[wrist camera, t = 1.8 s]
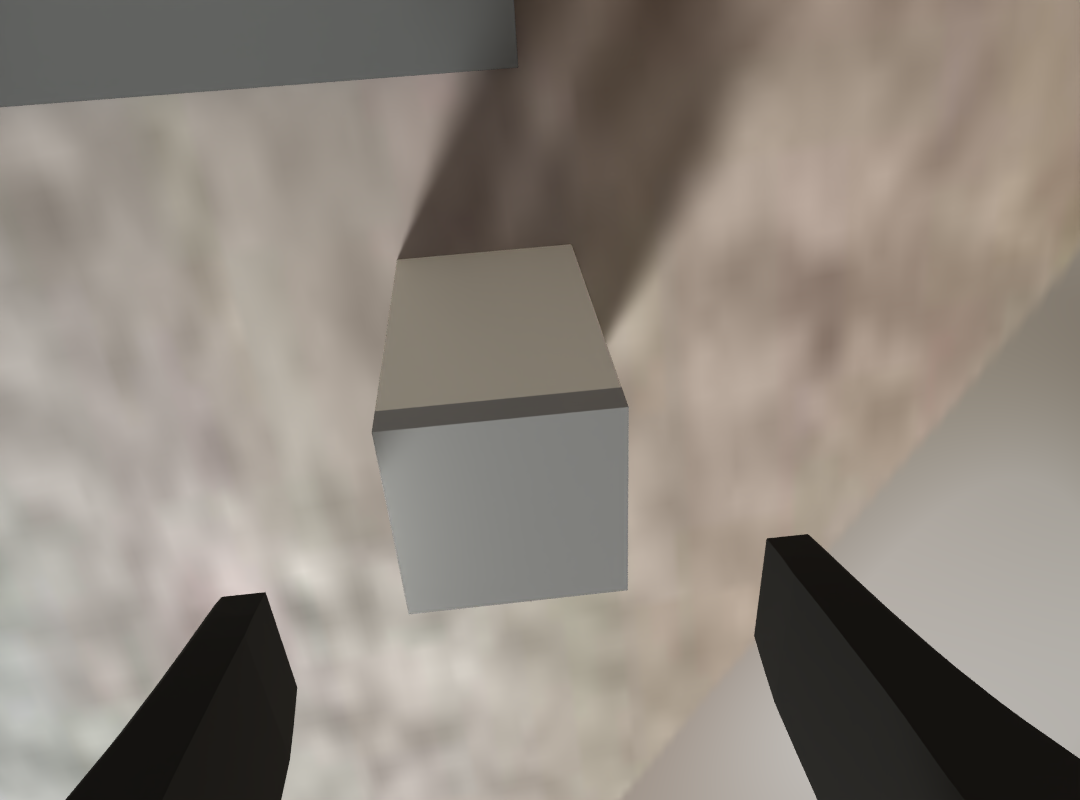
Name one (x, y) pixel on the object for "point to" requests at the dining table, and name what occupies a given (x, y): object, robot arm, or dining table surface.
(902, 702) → the robot arm
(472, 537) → the plug
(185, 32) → the socket base
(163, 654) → the dining table surface
